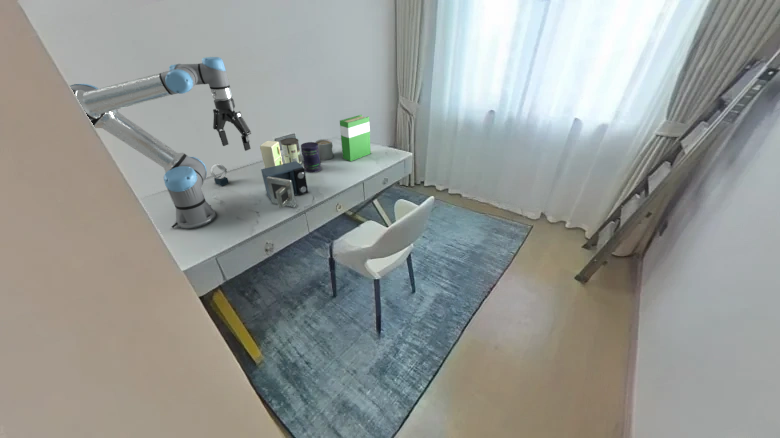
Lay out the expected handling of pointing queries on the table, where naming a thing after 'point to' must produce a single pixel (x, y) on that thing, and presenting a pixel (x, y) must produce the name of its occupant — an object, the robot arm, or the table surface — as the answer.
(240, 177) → the table surface
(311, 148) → the storage jar
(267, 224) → the table surface
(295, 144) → the coffee can
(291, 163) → the microwave
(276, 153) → the toy refrigerator
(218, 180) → the watch
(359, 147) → the hardback book
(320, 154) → the coffee mug
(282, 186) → the microwave door
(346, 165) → the table surface
